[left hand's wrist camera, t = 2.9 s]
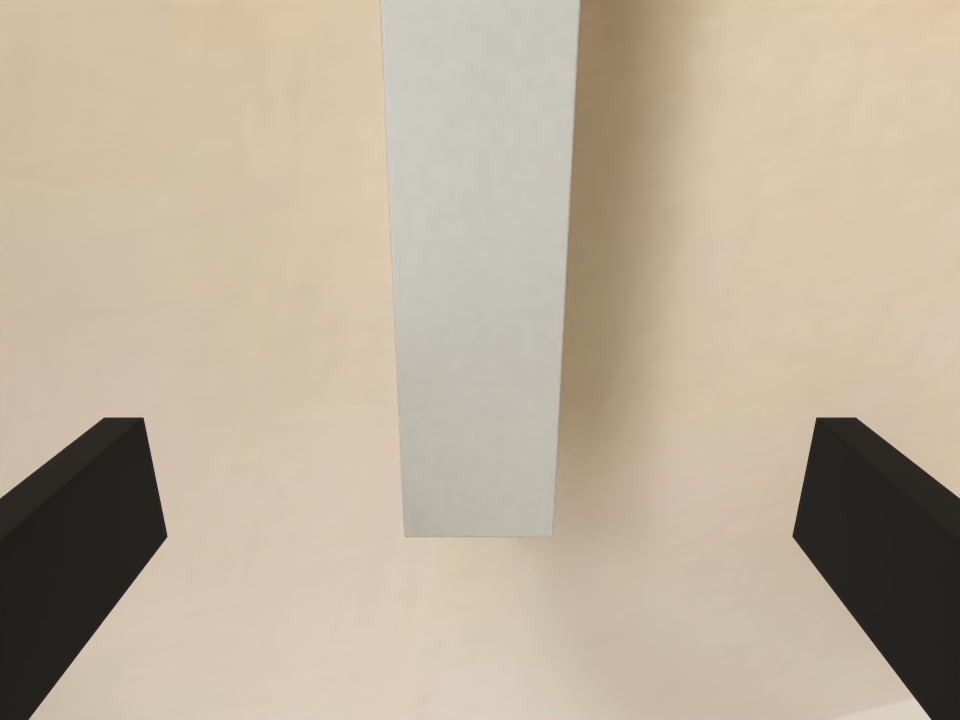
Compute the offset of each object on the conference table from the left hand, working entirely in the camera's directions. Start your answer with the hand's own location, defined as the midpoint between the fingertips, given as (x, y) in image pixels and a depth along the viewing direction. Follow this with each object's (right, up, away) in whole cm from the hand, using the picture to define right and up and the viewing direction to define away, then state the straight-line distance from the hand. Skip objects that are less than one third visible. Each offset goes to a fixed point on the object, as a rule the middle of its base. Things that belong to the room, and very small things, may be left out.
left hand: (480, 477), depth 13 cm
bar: (0, +38, +2) cm, 38 cm away
